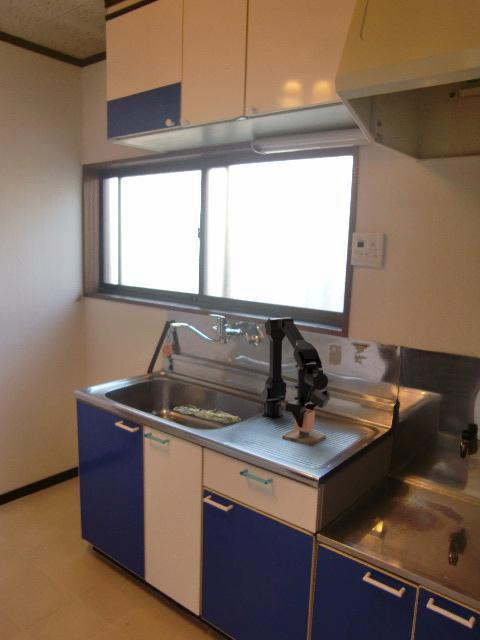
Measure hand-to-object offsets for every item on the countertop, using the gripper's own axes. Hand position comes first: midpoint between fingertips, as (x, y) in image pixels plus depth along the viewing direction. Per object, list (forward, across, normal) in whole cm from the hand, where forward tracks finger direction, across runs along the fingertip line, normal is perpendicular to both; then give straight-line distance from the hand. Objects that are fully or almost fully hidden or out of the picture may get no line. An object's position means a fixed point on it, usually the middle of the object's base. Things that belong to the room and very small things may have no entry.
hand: (304, 425), depth 179 cm
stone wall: (+5, -1, +44) cm, 44 cm away
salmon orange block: (+1, 0, 0) cm, 1 cm away
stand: (+5, 0, 0) cm, 5 cm away
